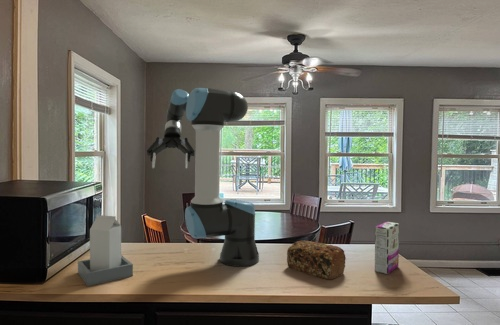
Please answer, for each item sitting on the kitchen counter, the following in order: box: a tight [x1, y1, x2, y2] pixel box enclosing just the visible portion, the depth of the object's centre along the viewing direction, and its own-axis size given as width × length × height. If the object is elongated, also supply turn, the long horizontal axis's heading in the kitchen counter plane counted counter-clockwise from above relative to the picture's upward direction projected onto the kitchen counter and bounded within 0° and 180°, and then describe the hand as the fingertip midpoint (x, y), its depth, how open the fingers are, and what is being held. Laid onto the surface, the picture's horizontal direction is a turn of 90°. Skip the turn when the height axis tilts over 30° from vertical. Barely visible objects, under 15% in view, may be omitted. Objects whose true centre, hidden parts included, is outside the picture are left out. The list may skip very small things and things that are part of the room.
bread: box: [286, 240, 347, 280], centre depth 118 cm, size 19×11×10 cm, turn 44°
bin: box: [77, 254, 134, 287], centre depth 112 cm, size 14×14×4 cm
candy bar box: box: [374, 221, 400, 275], centre depth 119 cm, size 11×5×16 cm, turn 137°
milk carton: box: [89, 214, 122, 272], centre depth 112 cm, size 7×7×19 cm
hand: (169, 166), depth 138 cm, fingers open, 13 cm apart
